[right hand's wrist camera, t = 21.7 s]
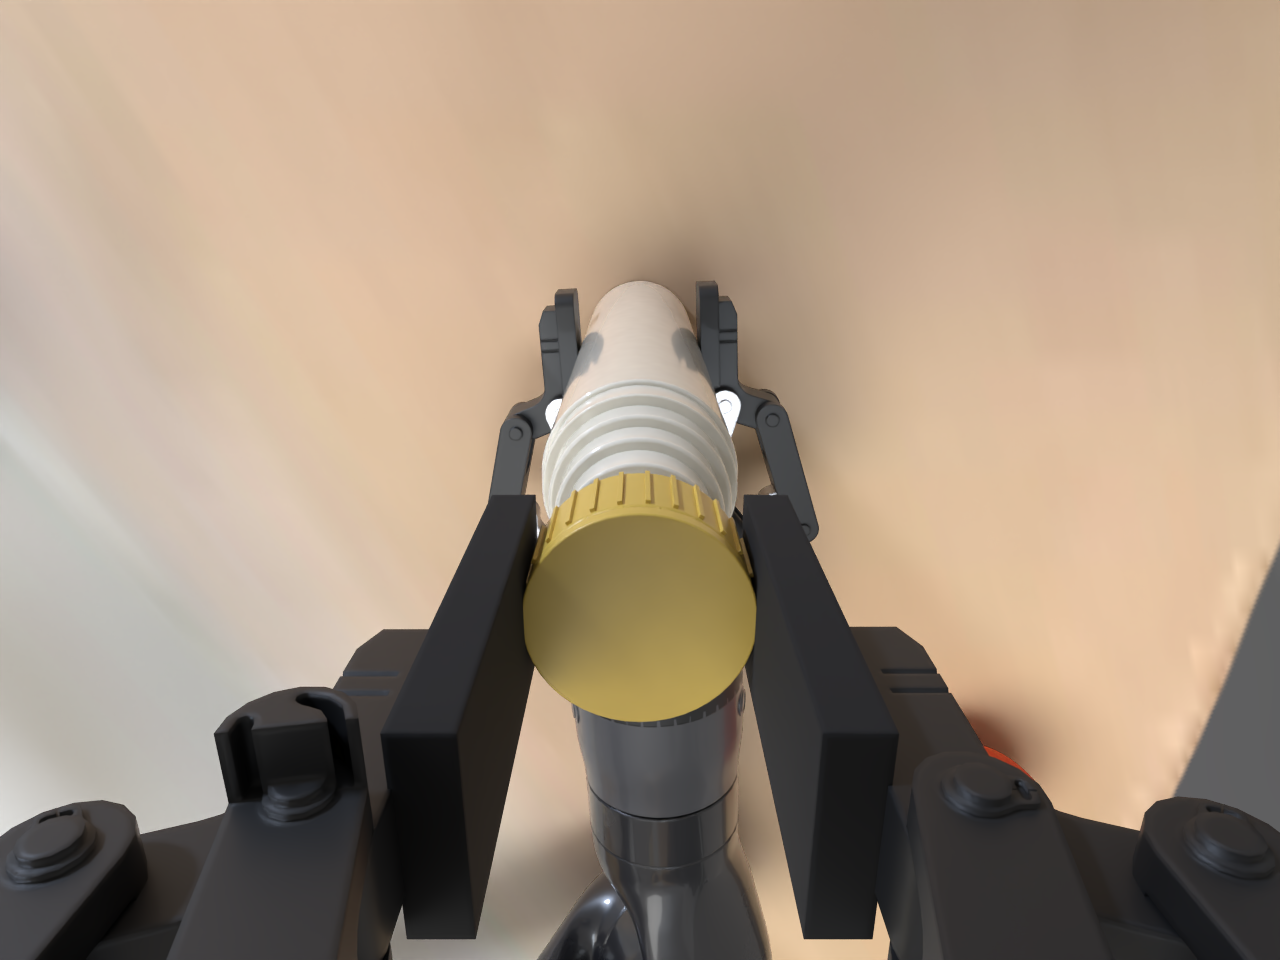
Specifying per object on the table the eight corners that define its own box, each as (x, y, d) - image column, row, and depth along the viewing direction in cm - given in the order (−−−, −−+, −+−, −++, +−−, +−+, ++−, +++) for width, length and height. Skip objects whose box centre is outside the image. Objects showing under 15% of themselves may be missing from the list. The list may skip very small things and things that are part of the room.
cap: (658, 697, 15) (661, 764, 14) (490, 587, 15) (469, 643, 13) (791, 551, 14) (812, 602, 13) (617, 425, 14) (614, 461, 12)
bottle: (682, 272, 36) (763, 447, 12) (697, 373, 38) (794, 700, 14) (580, 290, 37) (469, 495, 13) (599, 389, 38) (531, 737, 14)
